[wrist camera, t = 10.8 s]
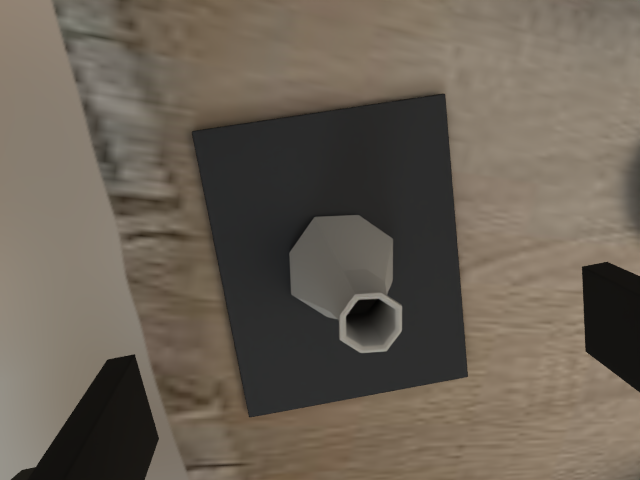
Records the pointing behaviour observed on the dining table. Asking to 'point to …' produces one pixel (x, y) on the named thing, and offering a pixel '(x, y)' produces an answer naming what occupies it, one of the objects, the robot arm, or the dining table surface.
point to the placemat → (335, 200)
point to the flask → (348, 279)
